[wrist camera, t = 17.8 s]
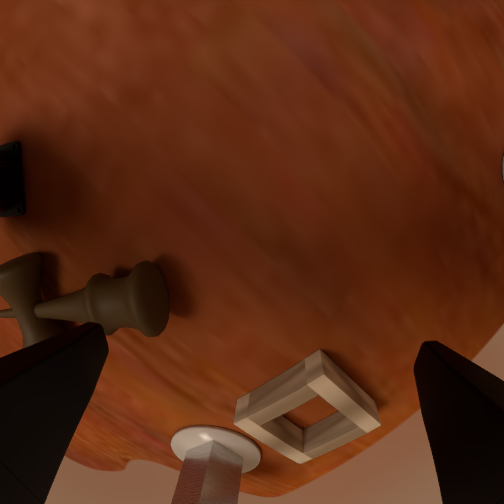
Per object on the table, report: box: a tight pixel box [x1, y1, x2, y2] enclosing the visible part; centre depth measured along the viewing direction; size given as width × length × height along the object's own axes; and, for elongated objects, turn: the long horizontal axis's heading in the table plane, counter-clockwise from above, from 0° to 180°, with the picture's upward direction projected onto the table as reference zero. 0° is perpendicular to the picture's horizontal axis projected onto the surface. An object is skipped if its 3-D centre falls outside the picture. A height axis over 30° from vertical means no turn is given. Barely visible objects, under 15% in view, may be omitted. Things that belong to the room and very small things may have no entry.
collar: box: [233, 349, 381, 464], centre depth 24 cm, size 9×9×3 cm
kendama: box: [0, 253, 170, 348], centre depth 21 cm, size 6×10×20 cm
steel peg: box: [171, 440, 244, 504], centre depth 23 cm, size 4×4×12 cm
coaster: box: [171, 425, 261, 473], centre depth 29 cm, size 10×10×1 cm
